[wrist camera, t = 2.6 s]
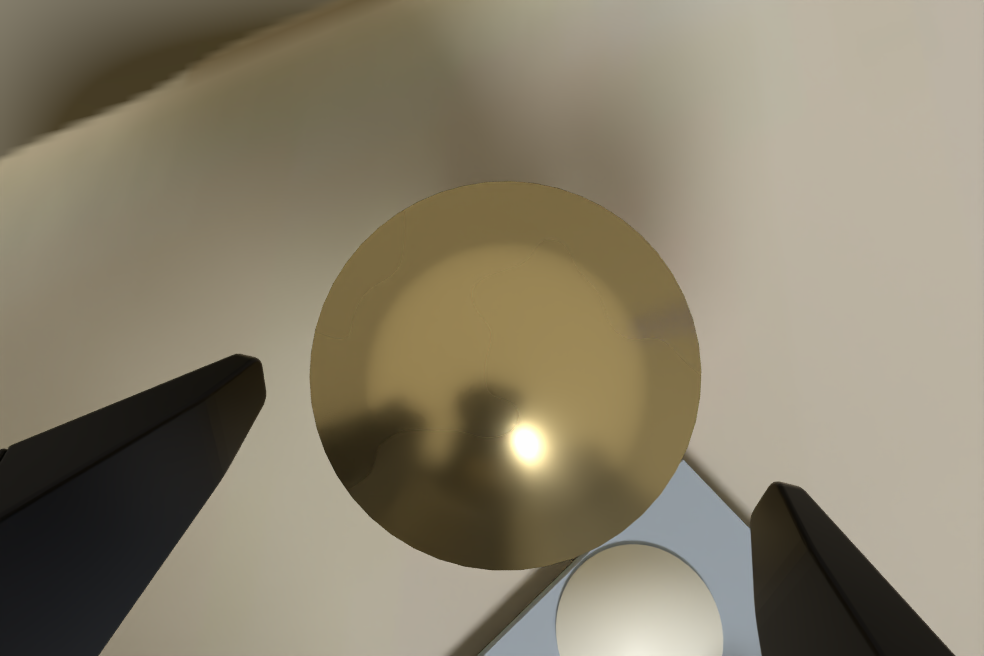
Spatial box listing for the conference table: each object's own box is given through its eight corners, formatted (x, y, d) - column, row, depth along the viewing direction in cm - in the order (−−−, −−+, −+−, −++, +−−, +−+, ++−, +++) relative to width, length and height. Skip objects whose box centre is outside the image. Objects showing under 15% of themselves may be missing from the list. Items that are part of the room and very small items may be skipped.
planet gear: (507, 568, 17) (473, 982, 4) (375, 411, 18) (22, 340, 5) (656, 424, 17) (1038, 383, 5) (519, 282, 19) (521, -58, 6)
